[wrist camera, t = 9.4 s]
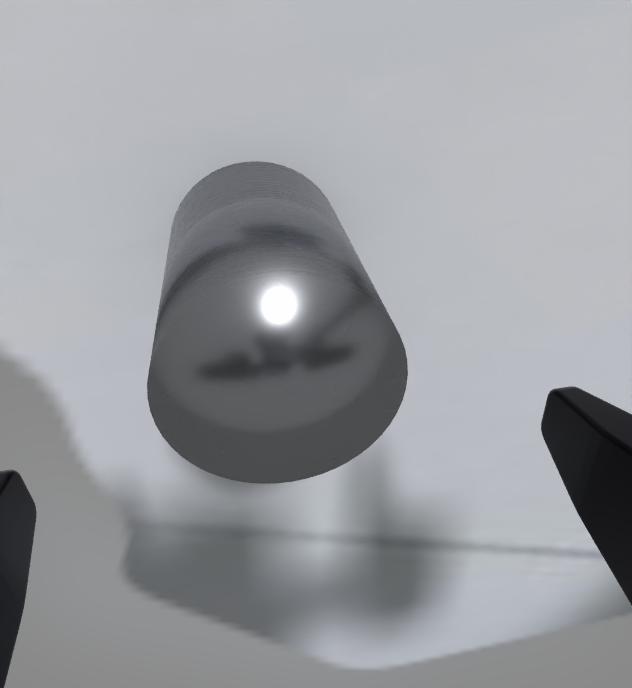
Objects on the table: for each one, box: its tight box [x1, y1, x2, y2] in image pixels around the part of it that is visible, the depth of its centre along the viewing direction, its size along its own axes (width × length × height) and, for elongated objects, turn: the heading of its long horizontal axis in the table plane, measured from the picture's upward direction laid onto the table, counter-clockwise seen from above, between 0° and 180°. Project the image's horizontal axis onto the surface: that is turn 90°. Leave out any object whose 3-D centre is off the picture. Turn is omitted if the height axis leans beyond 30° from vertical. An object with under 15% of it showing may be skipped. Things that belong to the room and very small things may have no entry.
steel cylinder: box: [147, 162, 408, 483], centre depth 13 cm, size 5×5×7 cm
